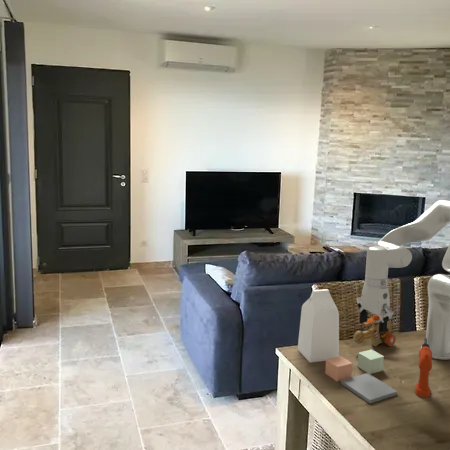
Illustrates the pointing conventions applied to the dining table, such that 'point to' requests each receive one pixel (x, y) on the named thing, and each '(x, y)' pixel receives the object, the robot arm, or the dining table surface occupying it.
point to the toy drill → (424, 370)
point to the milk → (319, 327)
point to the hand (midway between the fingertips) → (372, 326)
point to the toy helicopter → (375, 333)
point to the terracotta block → (338, 368)
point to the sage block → (370, 361)
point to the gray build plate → (369, 388)
